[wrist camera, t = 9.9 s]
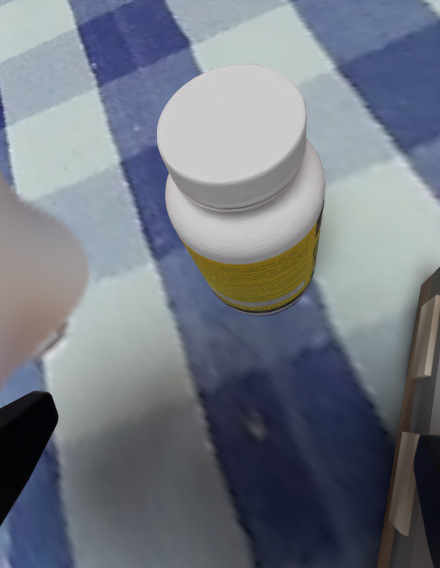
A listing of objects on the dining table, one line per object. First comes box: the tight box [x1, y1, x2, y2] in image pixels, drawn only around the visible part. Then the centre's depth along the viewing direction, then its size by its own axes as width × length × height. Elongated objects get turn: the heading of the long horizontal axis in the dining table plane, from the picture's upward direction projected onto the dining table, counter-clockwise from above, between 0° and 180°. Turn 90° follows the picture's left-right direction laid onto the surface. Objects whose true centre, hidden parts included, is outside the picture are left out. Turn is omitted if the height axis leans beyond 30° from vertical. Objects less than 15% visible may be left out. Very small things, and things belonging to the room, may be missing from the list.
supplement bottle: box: [157, 64, 325, 315], centre depth 14 cm, size 5×5×10 cm
